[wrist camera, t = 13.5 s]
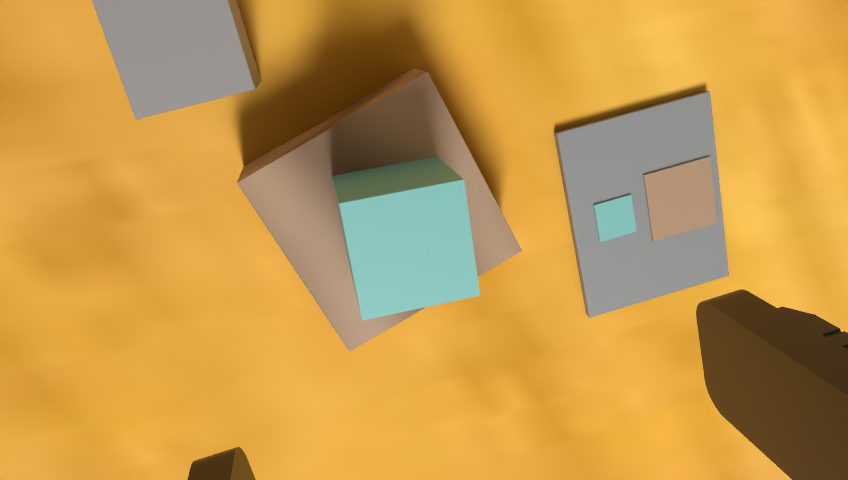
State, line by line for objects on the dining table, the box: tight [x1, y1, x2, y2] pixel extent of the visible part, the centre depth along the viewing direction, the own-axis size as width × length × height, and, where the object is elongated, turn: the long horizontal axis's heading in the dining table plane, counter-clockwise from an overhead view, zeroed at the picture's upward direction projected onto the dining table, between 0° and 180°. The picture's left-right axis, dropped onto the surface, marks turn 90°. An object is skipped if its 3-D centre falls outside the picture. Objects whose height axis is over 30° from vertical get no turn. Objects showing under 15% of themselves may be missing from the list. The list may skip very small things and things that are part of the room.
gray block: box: [92, 0, 261, 119], centre depth 28 cm, size 4×4×5 cm
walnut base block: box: [237, 68, 522, 352], centre depth 32 cm, size 9×9×4 cm
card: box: [554, 91, 729, 318], centre depth 35 cm, size 8×10×1 cm
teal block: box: [332, 156, 480, 321], centre depth 27 cm, size 4×4×5 cm
